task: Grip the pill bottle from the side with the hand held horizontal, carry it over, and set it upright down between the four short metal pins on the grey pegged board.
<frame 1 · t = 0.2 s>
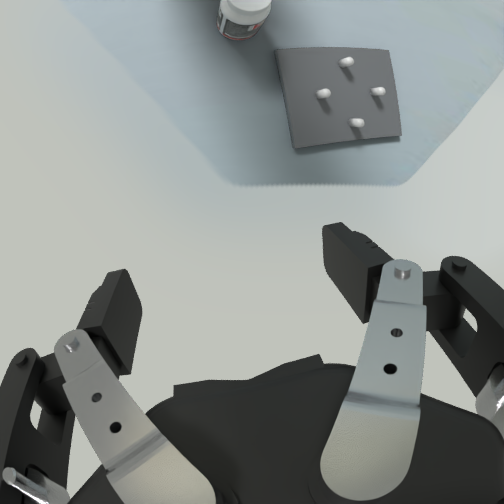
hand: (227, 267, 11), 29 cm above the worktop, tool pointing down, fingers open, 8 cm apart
pill bottle: (237, 24, 30), on the worktop
grey pegged board: (343, 93, 36), on the worktop
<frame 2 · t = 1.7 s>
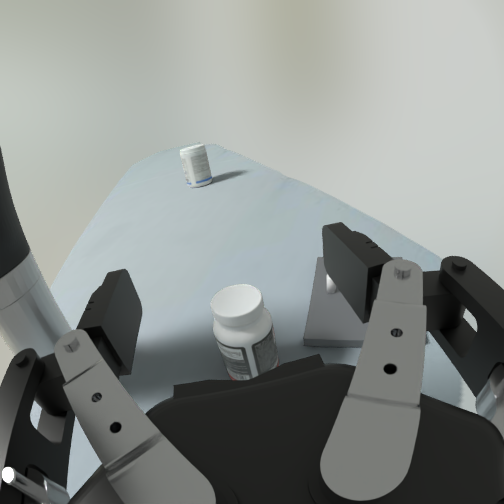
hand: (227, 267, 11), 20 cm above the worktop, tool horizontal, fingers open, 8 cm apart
supplement tub: (200, 184, 107), on the worktop
pill bottle: (253, 369, 31), on the worktop
grey pegged board: (362, 298, 38), on the worktop
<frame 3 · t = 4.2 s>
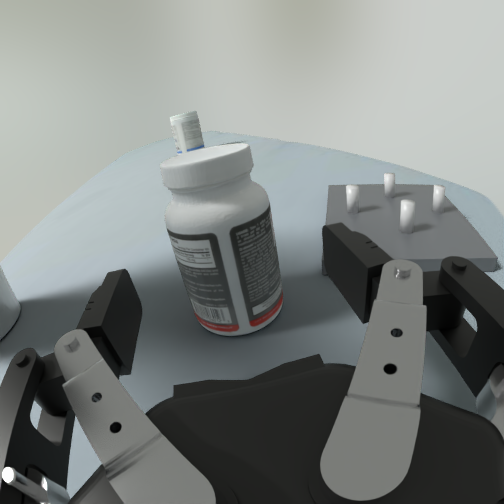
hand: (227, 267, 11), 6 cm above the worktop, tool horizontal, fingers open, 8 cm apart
supplement tub: (191, 154, 96), on the worktop
pill bottle: (240, 311, 19), on the worktop
grey pegged board: (396, 222, 26), on the worktop
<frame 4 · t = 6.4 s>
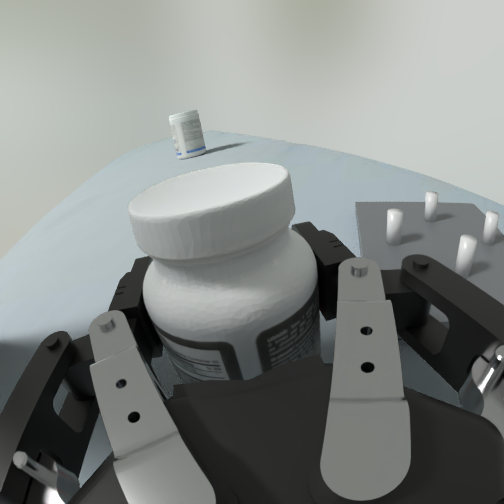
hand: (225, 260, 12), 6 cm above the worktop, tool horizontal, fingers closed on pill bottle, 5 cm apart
supplement tub: (191, 156, 90), on the worktop
pill bottle: (259, 396, 13), on the worktop, touching gripper
grey pegged board: (442, 255, 20), on the worktop
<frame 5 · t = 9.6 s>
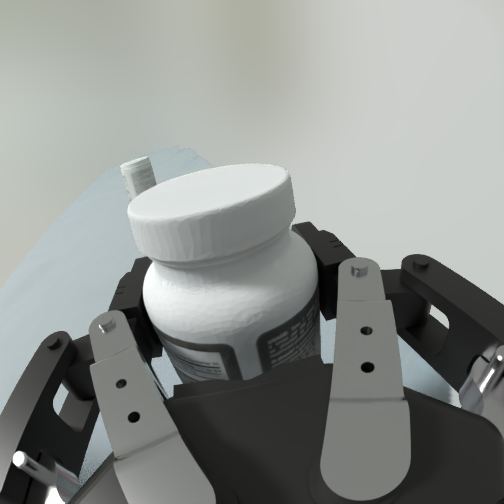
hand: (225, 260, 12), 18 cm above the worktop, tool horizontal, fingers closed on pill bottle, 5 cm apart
supplement tub: (146, 205, 88), on the worktop
pill bottle: (259, 397, 13), point 11 cm above the worktop, touching gripper
when the fingers open (8 cm above the worktop, at t = 12.7 s): pill bottle drops 1 cm, resting on grey pegged board.
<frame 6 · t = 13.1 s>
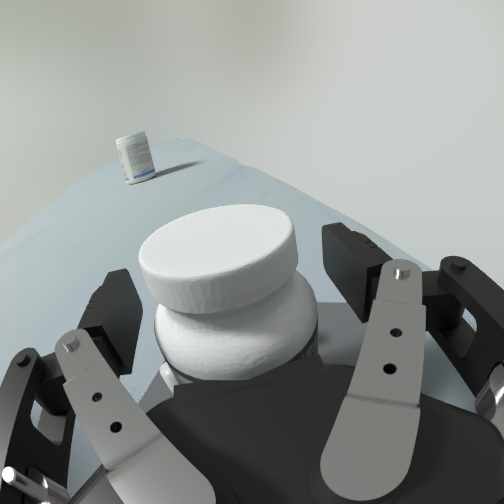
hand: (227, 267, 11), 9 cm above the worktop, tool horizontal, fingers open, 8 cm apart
supplement tub: (141, 180, 84), on the worktop
pill bottle: (261, 414, 13), point 1 cm above the worktop, touching grey pegged board
grey pegged board: (265, 420, 14), on the worktop
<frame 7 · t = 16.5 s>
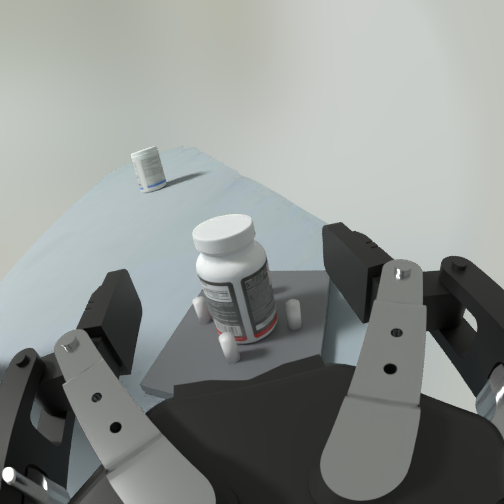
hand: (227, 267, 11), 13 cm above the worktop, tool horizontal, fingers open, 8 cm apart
supplement tub: (154, 189, 98), on the worktop
pill bottle: (247, 326, 27), point 1 cm above the worktop, touching grey pegged board
grey pegged board: (250, 332, 27), on the worktop
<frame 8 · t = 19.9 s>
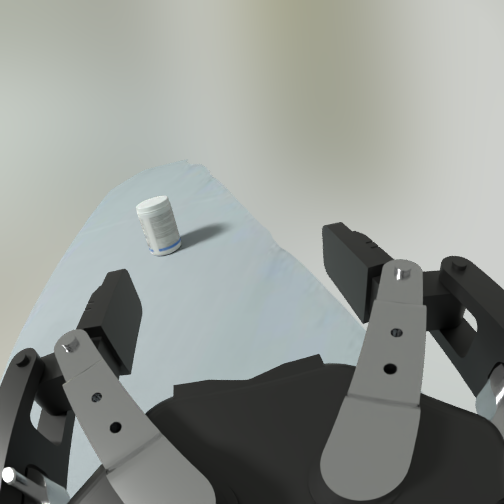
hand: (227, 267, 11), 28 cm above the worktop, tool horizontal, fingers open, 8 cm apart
supplement tub: (166, 249, 82), on the worktop
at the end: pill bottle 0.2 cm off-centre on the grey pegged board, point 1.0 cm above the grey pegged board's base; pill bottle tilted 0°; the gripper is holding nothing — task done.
